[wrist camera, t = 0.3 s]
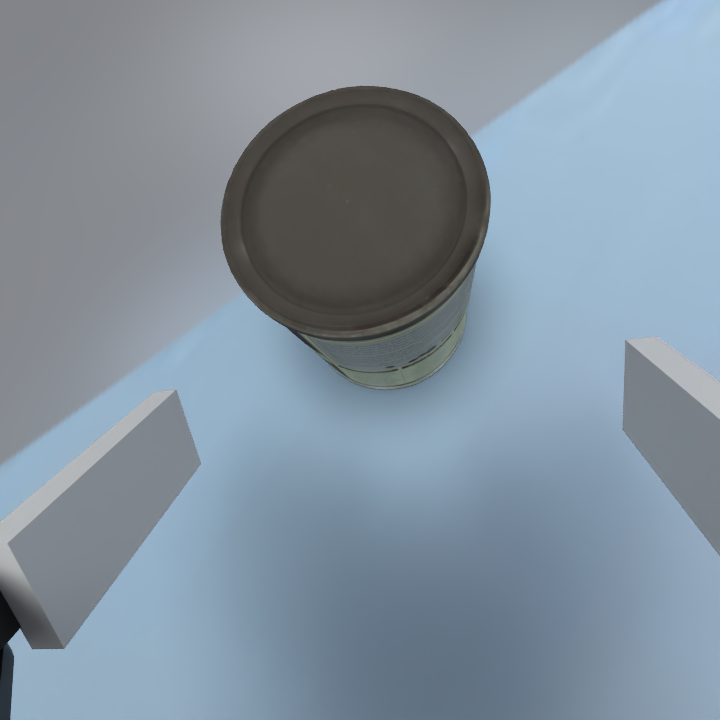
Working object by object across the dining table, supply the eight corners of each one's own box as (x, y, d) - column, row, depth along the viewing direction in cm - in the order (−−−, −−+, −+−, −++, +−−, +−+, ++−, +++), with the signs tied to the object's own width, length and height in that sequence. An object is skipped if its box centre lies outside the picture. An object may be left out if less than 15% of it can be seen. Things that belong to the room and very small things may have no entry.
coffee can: (284, 350, 32) (171, 268, 18) (355, 220, 33) (298, 53, 20) (423, 420, 30) (410, 386, 16) (494, 277, 31) (539, 132, 17)
